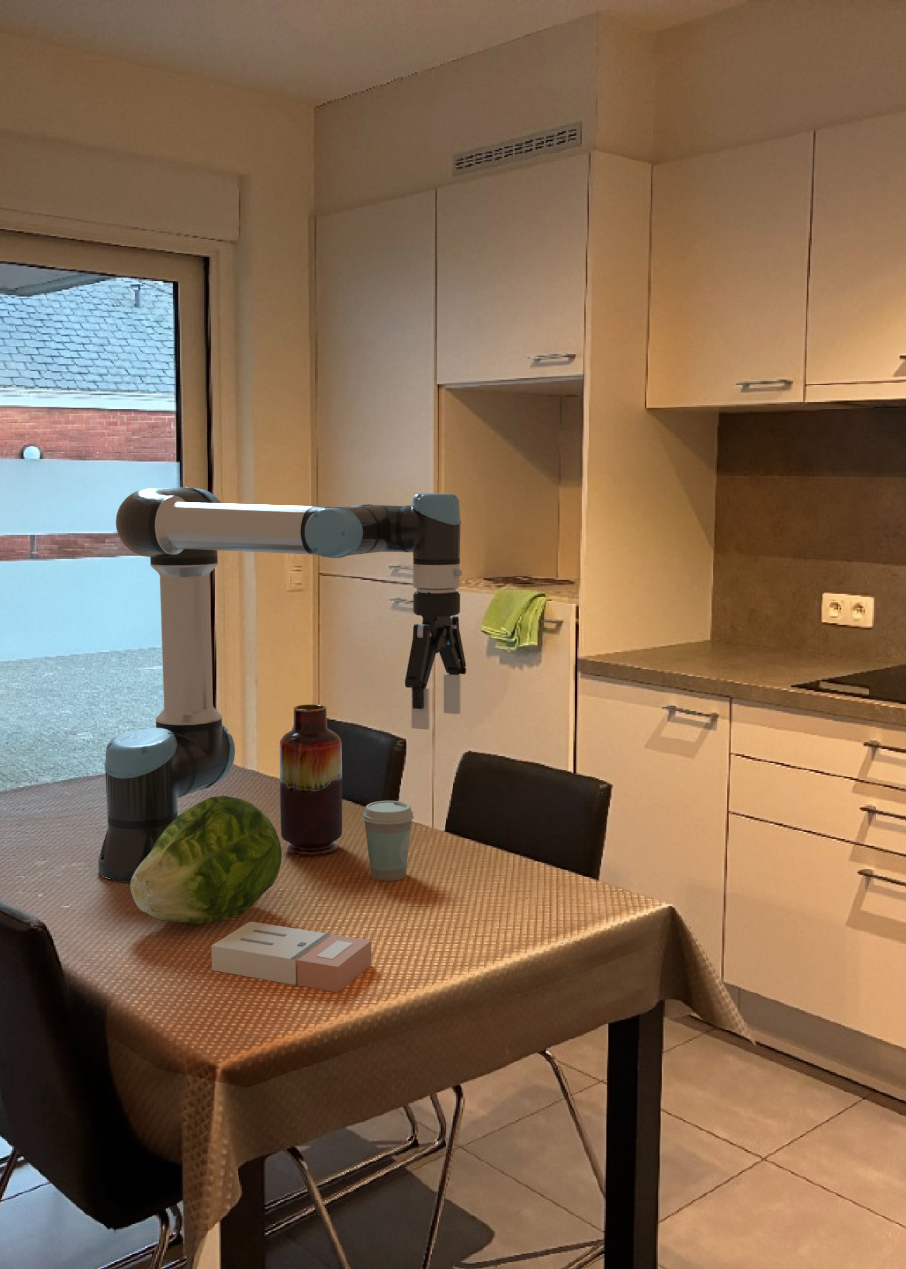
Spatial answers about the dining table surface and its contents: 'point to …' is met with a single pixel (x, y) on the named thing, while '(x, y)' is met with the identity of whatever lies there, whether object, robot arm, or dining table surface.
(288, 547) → the robot arm
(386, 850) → the coffee cup
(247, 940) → the two-slot toaster
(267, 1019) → the dining table surface
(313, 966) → the stub
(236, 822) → the lettuce
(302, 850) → the vase
